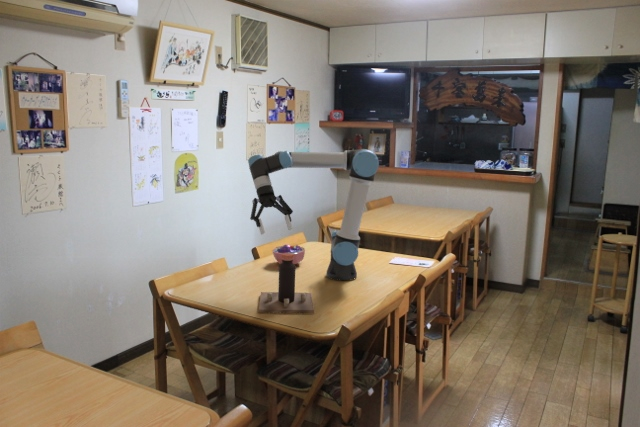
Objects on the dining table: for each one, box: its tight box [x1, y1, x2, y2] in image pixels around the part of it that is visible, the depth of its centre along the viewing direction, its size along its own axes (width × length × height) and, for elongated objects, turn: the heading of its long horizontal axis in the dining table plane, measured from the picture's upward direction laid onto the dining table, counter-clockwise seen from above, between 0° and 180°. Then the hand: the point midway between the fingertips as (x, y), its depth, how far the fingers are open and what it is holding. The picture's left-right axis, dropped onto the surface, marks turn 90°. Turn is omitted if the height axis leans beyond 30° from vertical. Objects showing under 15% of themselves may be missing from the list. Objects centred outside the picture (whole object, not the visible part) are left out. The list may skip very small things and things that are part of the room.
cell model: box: [271, 244, 306, 266], centre depth 287 cm, size 17×20×11 cm
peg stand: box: [258, 291, 315, 315], centre depth 224 cm, size 22×22×4 cm
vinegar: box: [277, 253, 296, 303], centre depth 223 cm, size 7×7×20 cm
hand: (276, 231), depth 237 cm, fingers open, 13 cm apart
